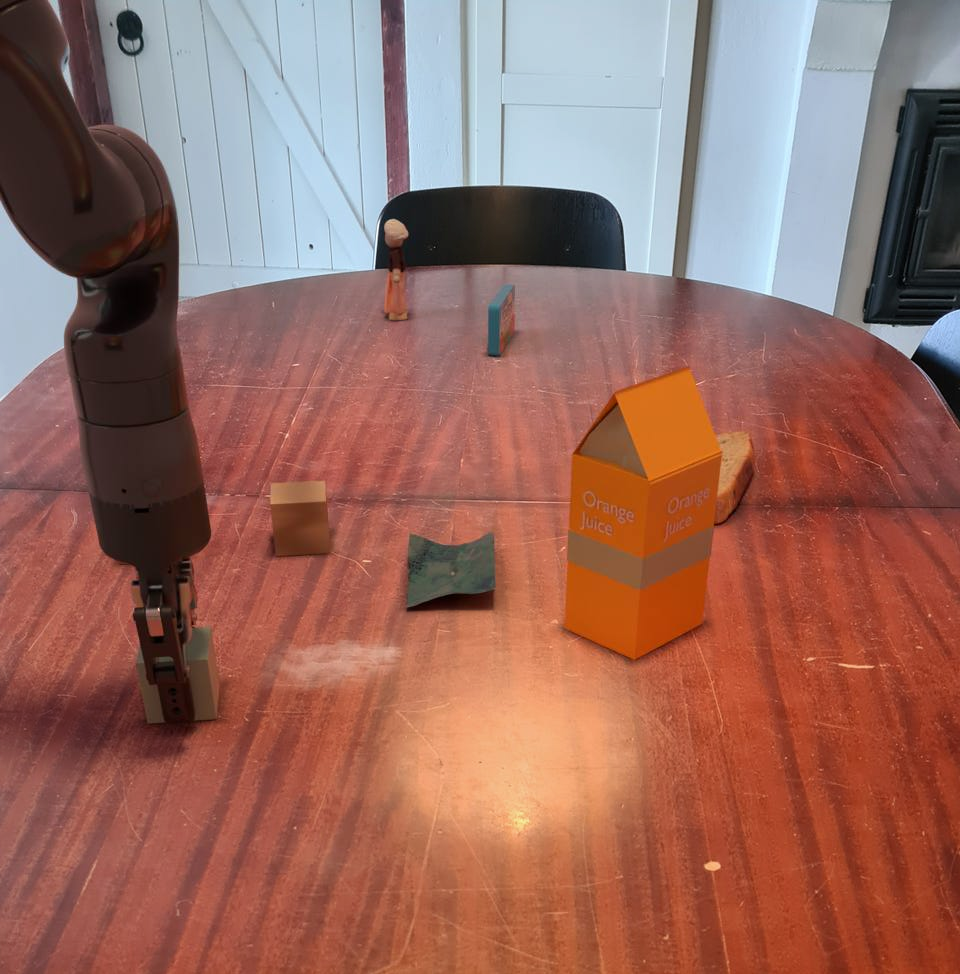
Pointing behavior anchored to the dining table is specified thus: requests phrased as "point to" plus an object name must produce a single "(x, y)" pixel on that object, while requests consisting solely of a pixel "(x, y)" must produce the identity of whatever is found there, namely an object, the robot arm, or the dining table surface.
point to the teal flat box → (501, 319)
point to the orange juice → (642, 517)
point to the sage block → (200, 677)
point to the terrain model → (449, 568)
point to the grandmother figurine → (395, 271)
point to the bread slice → (733, 471)
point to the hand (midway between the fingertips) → (183, 695)
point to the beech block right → (300, 518)
